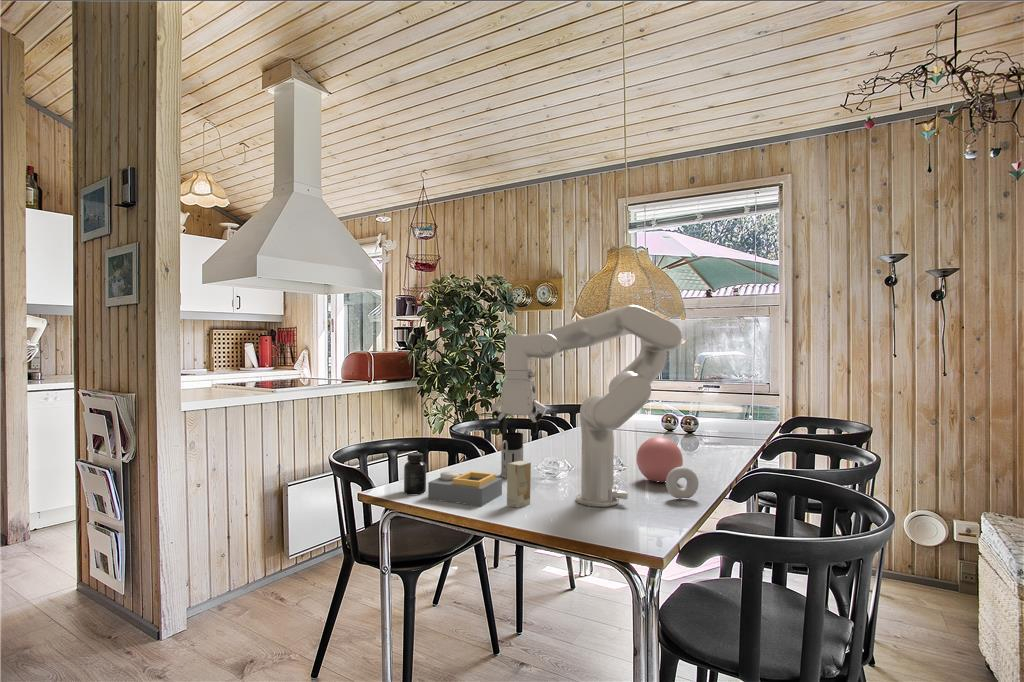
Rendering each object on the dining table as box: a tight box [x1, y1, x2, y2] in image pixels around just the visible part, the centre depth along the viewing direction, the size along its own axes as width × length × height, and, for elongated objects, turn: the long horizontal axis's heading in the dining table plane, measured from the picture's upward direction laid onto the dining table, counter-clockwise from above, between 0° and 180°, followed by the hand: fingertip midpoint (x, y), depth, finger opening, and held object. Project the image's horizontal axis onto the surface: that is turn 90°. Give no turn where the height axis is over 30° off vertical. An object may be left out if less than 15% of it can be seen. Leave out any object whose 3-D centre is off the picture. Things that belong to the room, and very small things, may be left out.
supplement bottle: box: [403, 452, 427, 495], centre depth 171 cm, size 7×7×12 cm
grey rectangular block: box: [427, 470, 503, 507], centre depth 166 cm, size 18×14×6 cm
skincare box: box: [506, 460, 532, 509], centre depth 158 cm, size 6×4×12 cm
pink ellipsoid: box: [636, 436, 684, 483], centre depth 189 cm, size 15×20×15 cm
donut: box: [665, 465, 699, 499], centre depth 165 cm, size 10×4×10 cm, turn 94°
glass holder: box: [499, 431, 524, 479], centre depth 192 cm, size 9×14×15 cm, turn 159°
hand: (518, 434), depth 159 cm, fingers open, 9 cm apart
